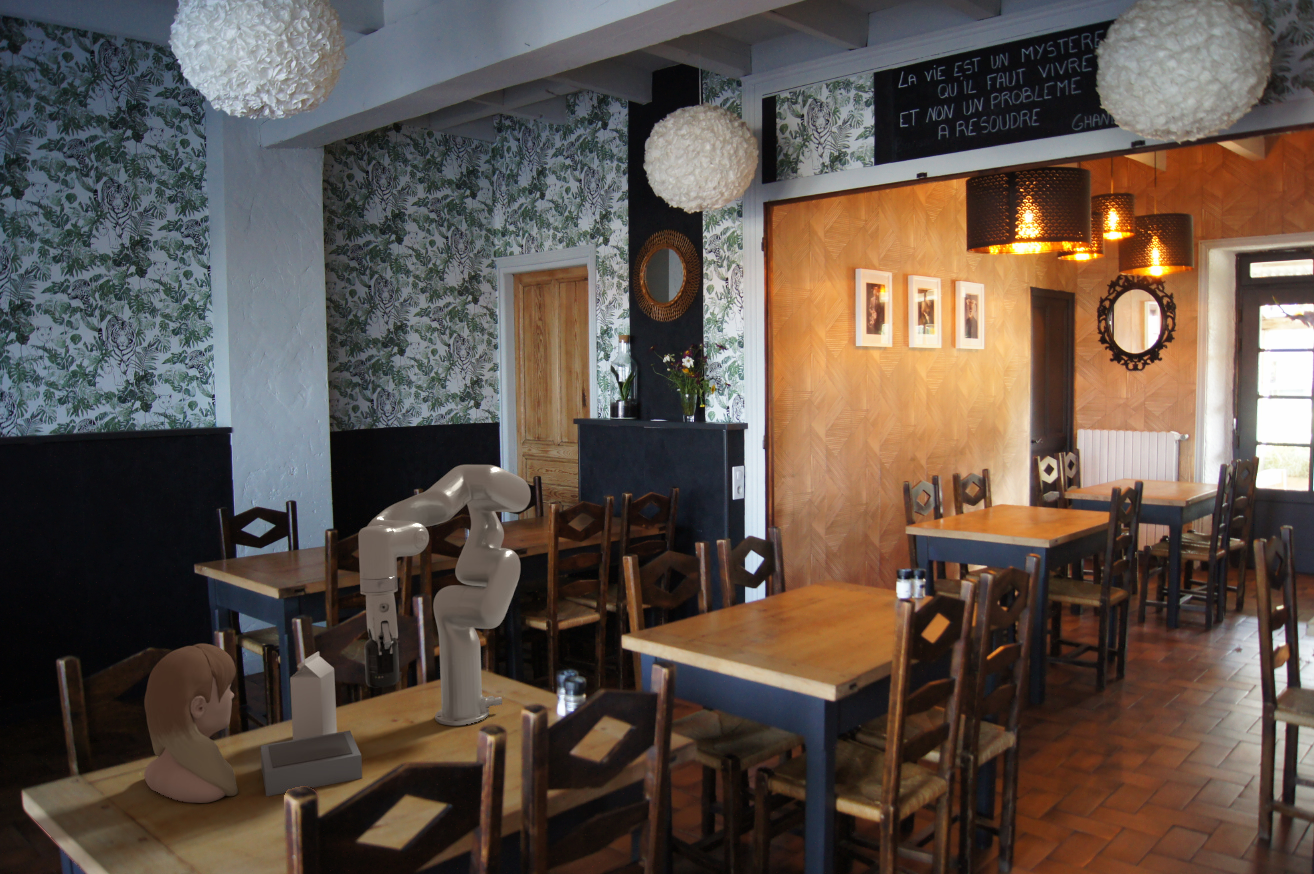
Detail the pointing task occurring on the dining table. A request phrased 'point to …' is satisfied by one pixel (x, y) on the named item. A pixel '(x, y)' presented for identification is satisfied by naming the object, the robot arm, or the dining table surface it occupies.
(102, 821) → the dining table surface
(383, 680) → the supplement bottle
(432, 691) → the dining table surface
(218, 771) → the head mannequin
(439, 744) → the dining table surface
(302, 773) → the display riser
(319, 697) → the milk carton
